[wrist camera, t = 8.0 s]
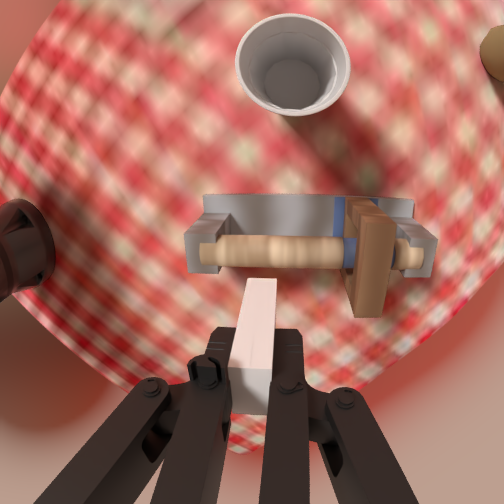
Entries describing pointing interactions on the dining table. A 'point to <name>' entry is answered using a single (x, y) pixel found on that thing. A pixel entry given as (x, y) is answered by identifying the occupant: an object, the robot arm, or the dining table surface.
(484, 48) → the squeeze bottle
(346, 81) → the cup
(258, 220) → the rail
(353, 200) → the collar
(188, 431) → the robot arm
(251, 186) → the dining table surface
